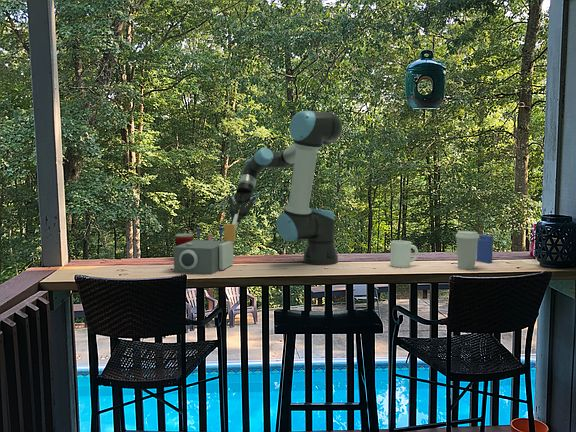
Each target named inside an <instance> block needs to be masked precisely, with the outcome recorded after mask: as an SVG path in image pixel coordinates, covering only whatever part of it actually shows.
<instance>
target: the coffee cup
mask: <svg viewBox="0 0 576 432" xmlns="http://www.w3.org/2000/svg"><path fill="white" fill-rule="evenodd" d="M478 234H479V232H477V231H473V230H458V231H457V232H456V234H455V239H456V256H457V258H456V259H457V268H458V269H461V270H474V269H475V268H476V267H475V266H476V261H475V259H476V252H477V244H478V238H479V235H480V234H479V235H478Z"/></svg>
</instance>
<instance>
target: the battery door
mask: <svg viewBox="0 0 576 432" xmlns="http://www.w3.org/2000/svg"><path fill="white" fill-rule="evenodd" d="M236 230H237V229H236V226H235V224H232V223H224V224H223V238H224V239H223V241H227V242H225V243H223V244H220V245H219V271H223V270H225V269H227V268H229V267H230V266H232V265H234V242H237V241H236V238H237V237H236V235H237V234H236V232H237V231H236Z"/></svg>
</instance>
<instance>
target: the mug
mask: <svg viewBox="0 0 576 432" xmlns="http://www.w3.org/2000/svg"><path fill="white" fill-rule="evenodd" d="M412 249H413V250H414V257H412V258H411V252H412ZM418 257H419V249H418V248H417V246H416V245H414V244H412V242H411V241H409V240H401V239H399V240H391V241H390V259H389V260H390V266H391V267H392V266H393V268H398V267H406V268H409V267H410V266H411V263H413V262H415V261H416V260H417V259H418Z"/></svg>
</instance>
